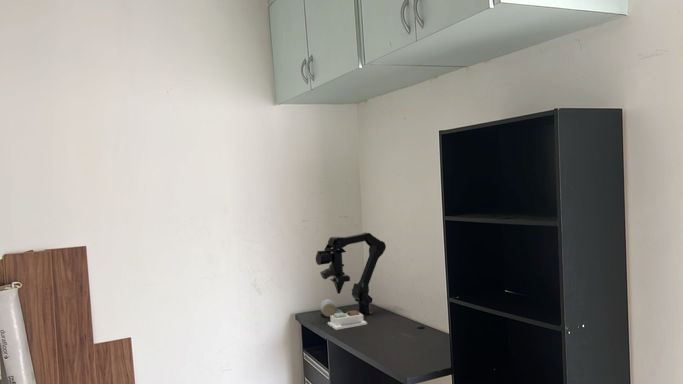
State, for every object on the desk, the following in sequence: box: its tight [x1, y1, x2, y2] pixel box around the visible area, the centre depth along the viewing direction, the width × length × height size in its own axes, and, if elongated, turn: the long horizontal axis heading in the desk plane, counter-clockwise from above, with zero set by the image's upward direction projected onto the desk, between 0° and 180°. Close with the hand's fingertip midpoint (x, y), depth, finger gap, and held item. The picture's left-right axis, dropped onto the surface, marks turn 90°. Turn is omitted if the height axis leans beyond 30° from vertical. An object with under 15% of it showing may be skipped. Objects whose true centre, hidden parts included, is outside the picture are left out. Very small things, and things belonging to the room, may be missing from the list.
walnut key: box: [346, 309, 359, 316], centre depth 266 cm, size 4×4×3 cm
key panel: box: [327, 312, 368, 331], centre depth 263 cm, size 11×16×4 cm
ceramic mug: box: [319, 299, 343, 318], centre depth 282 cm, size 11×8×8 cm
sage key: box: [334, 311, 346, 318], centre depth 264 cm, size 4×4×3 cm
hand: (338, 293), depth 273 cm, fingers closed
